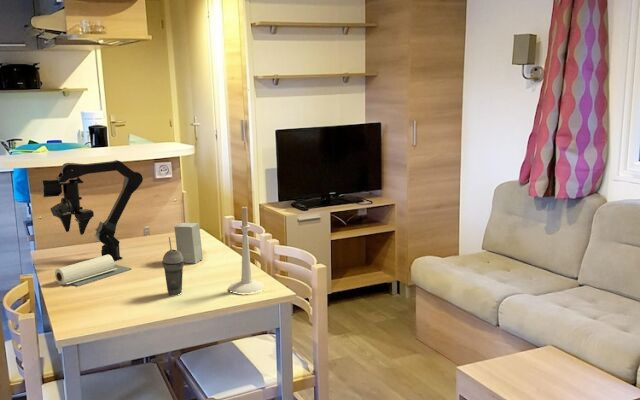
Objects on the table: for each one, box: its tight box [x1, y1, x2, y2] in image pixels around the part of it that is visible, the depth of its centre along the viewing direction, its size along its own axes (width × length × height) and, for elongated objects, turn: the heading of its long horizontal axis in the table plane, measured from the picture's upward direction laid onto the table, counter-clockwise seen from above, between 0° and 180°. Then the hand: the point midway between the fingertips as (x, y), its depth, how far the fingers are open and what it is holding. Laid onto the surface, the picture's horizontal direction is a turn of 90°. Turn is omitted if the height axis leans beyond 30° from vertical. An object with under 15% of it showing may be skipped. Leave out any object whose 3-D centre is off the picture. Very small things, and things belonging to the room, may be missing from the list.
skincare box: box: [173, 222, 204, 264], centre depth 243 cm, size 8×7×16 cm
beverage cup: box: [162, 236, 185, 296], centre depth 204 cm, size 7×7×20 cm
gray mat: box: [68, 263, 133, 287], centre depth 227 cm, size 24×11×1 cm, turn 147°
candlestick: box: [228, 205, 265, 293], centre depth 207 cm, size 13×13×30 cm
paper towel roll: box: [54, 255, 117, 286], centre depth 224 cm, size 7×6×21 cm
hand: (74, 233), depth 239 cm, fingers open, 9 cm apart
